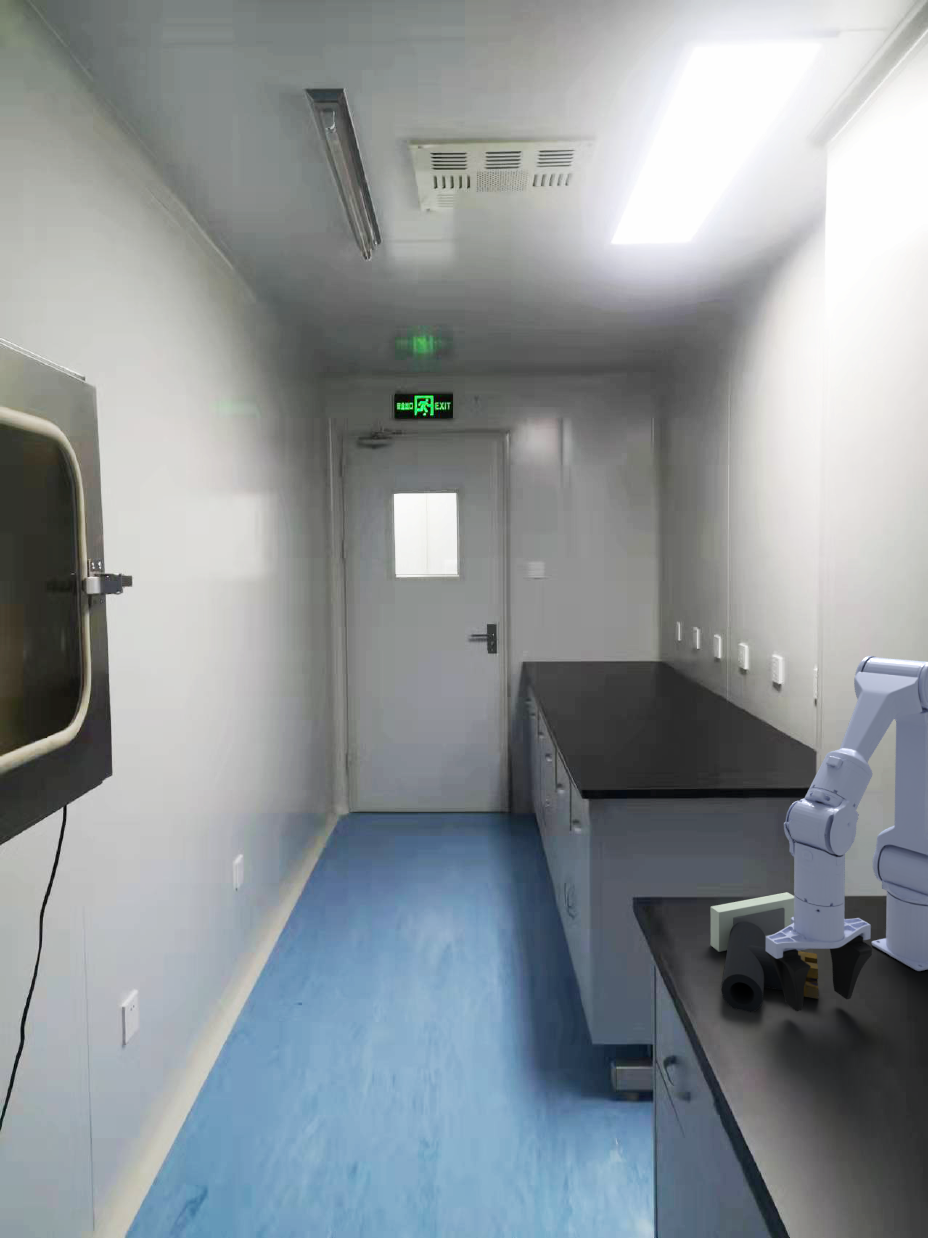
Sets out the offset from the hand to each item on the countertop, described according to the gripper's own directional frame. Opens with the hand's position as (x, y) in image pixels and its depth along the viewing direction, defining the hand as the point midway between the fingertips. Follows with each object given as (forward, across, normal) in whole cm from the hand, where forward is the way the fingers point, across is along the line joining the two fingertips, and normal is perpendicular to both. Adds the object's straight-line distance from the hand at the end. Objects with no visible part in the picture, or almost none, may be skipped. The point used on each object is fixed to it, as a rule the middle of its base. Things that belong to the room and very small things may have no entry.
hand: (818, 1000), depth 92 cm
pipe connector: (+2, +1, -7) cm, 8 cm away
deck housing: (+2, -4, -18) cm, 18 cm away
